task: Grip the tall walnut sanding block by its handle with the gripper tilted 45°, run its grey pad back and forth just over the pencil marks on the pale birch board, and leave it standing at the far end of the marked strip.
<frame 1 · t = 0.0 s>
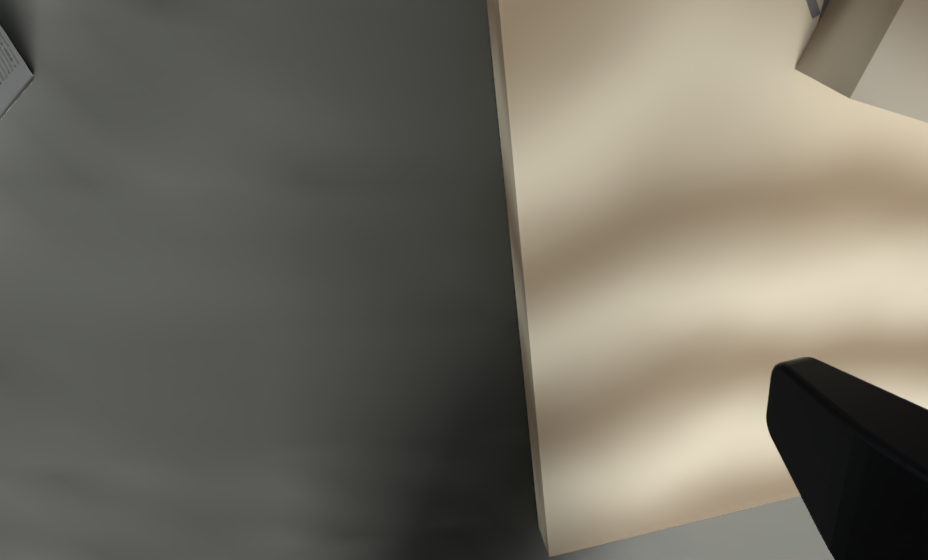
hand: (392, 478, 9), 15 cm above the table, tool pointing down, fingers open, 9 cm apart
plywood board: (766, 196, 26), on the table
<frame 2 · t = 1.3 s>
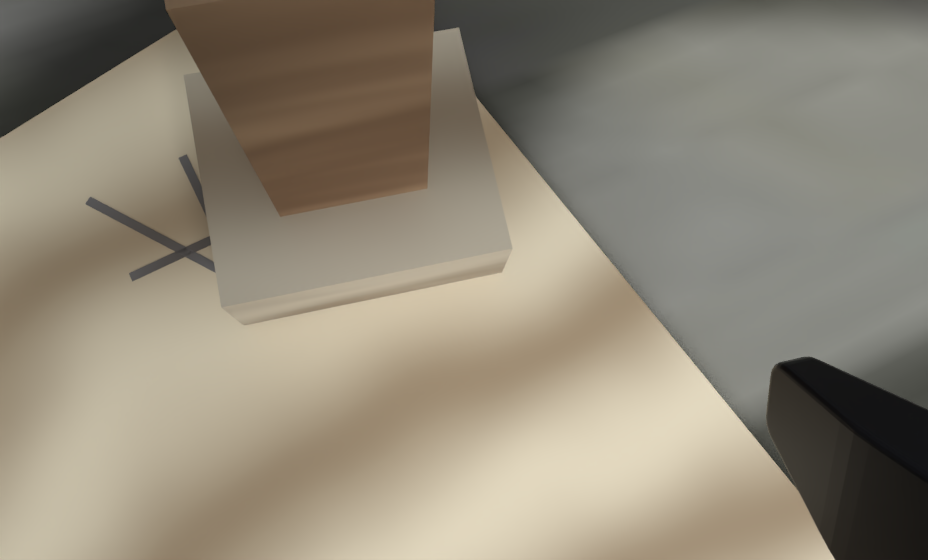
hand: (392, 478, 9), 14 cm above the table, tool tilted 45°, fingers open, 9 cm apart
plywood board: (368, 462, 22), on the table
sanding block: (353, 194, 22), point 2 cm above the table, touching plywood board
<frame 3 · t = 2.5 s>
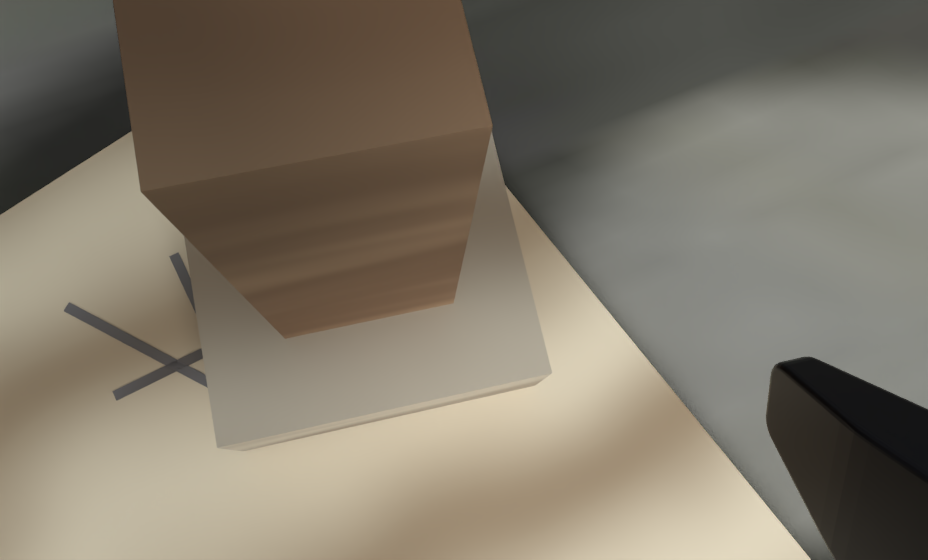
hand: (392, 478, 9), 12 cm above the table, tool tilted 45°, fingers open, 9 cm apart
sanding block: (367, 296, 20), point 2 cm above the table, touching plywood board
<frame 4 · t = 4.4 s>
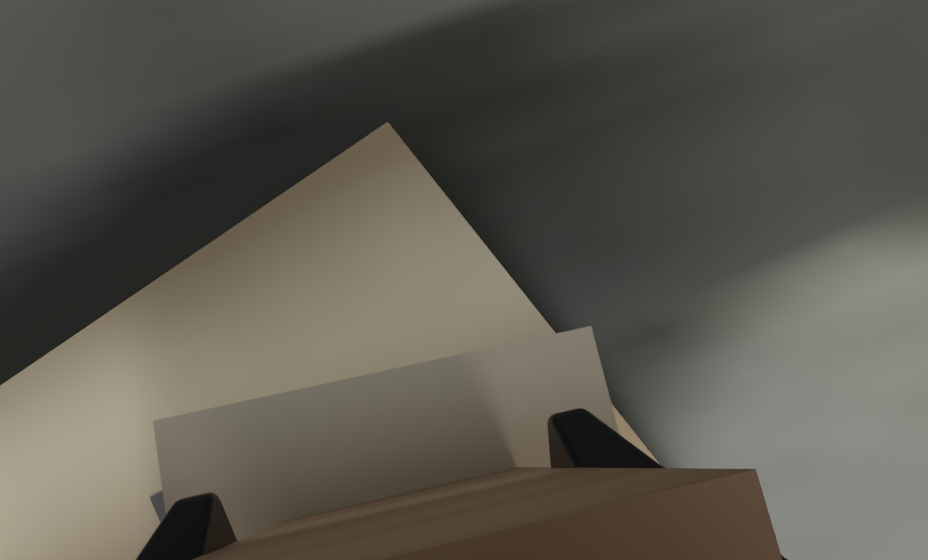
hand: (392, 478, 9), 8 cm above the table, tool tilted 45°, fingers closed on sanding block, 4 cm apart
sanding block: (417, 550, 14), point 2 cm above the table, touching gripper, plywood board
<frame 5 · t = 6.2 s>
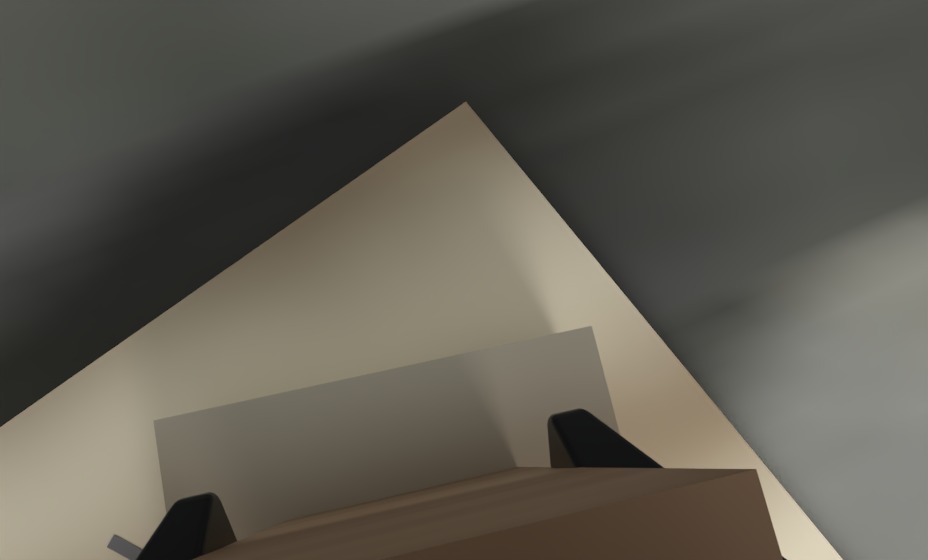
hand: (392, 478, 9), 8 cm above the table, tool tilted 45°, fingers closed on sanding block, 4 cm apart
sanding block: (418, 550, 14), point 2 cm above the table, touching gripper
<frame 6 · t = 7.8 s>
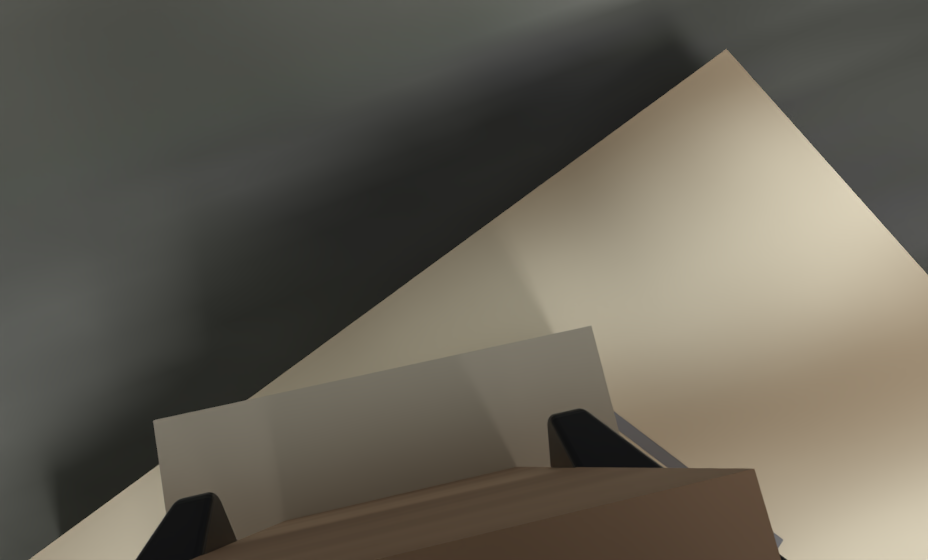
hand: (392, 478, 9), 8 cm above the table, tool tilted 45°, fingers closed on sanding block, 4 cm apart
sanding block: (417, 550, 14), point 2 cm above the table, touching gripper
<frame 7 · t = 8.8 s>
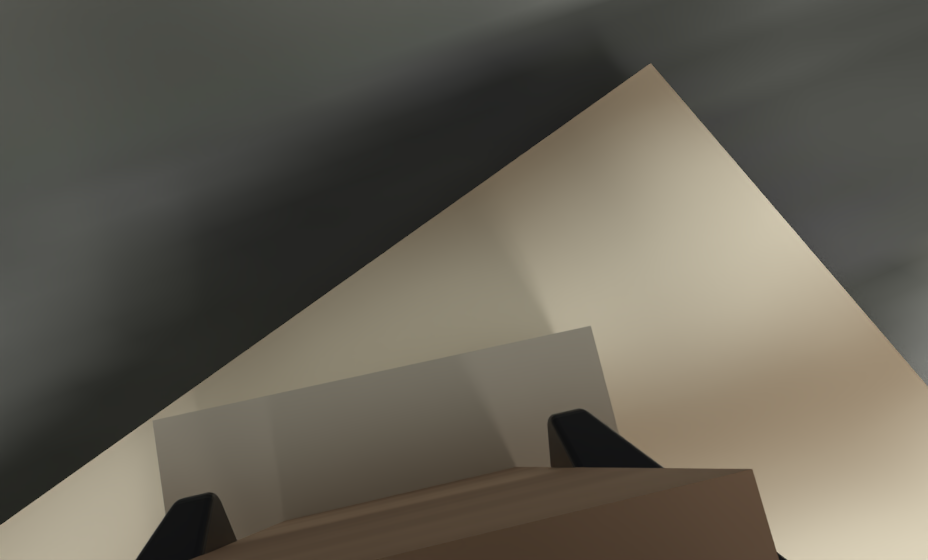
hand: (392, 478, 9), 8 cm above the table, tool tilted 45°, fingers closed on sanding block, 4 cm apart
sanding block: (417, 550, 14), point 2 cm above the table, touching gripper
when the fingers open (8 cm above the table, at t = 13.9 s): sanding block stays where it is, resting on plywood board.
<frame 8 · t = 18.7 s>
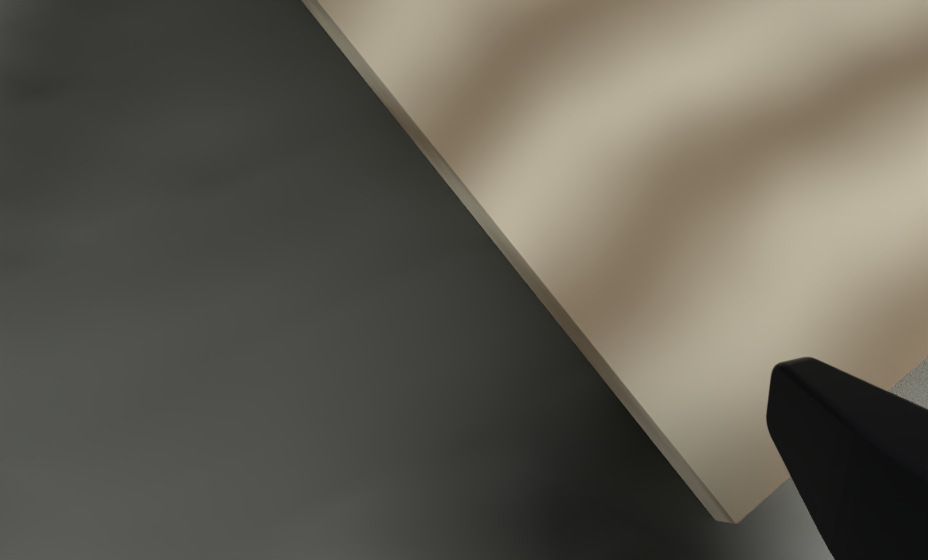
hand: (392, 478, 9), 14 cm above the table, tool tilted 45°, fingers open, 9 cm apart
plywood board: (644, 15, 26), on the table
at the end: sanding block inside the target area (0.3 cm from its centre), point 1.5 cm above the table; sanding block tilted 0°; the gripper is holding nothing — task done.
